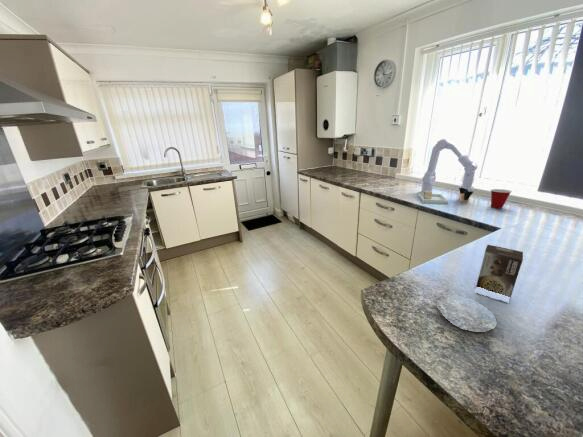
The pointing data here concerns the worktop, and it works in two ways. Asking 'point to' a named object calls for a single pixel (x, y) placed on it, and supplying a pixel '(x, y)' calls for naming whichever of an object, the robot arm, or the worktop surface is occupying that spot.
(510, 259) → the coffee box
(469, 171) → the robot arm
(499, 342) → the worktop surface
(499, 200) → the plastic cup
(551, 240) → the worktop surface
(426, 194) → the oak block
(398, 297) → the worktop surface
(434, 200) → the grey tray
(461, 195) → the terracotta block
